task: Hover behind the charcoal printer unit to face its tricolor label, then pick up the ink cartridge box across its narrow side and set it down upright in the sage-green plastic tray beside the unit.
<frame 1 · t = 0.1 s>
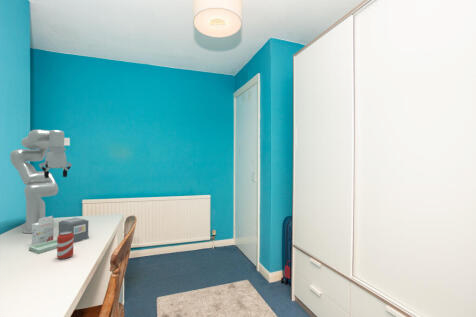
hand: (56, 177, 141), 37 cm above the table, tool pointing down, fingers open, 9 cm apart
beverage can: (65, 257, 111), on the table
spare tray: (49, 247, 123), on the table
printer unit: (73, 239, 136), on the table
ink cartridge box: (42, 242, 130), on the table
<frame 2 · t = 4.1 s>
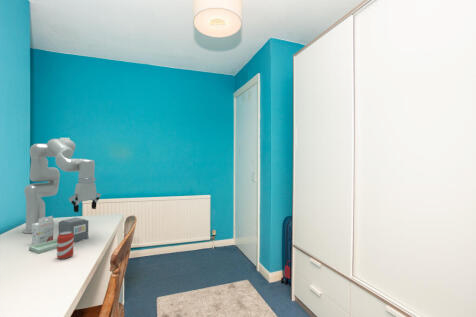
hand: (85, 210, 131), 19 cm above the table, tool pointing down, fingers open, 9 cm apart
nothing on the table moved.
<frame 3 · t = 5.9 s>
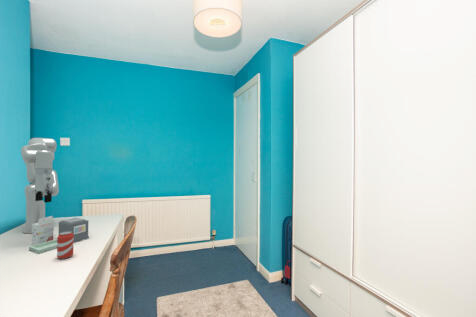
hand: (43, 201, 130), 24 cm above the table, tool pointing down, fingers open, 9 cm apart
nothing on the table moved.
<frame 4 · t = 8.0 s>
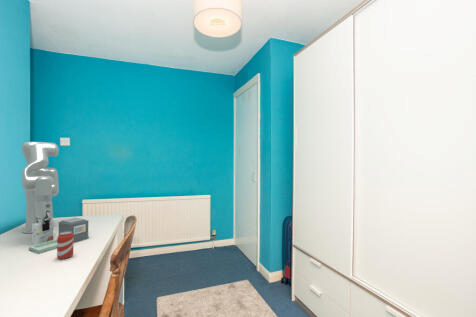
hand: (42, 229, 130), 8 cm above the table, tool pointing down, fingers closed on ink cartridge box, 5 cm apart
ink cartridge box: (42, 242, 130), on the table, touching gripper
everything else where it was.
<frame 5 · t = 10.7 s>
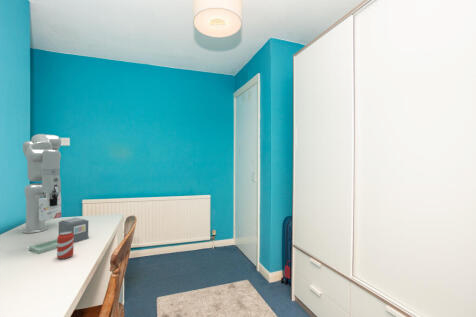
hand: (50, 204, 123), 23 cm above the table, tool pointing down, fingers closed on ink cartridge box, 5 cm apart
ink cartridge box: (50, 219, 123), point 15 cm above the table, touching gripper
everything else where it was.
when the fingers open (9 cm above the table, at t = 13.6 s): ink cartridge box drops 1 cm, resting on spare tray.
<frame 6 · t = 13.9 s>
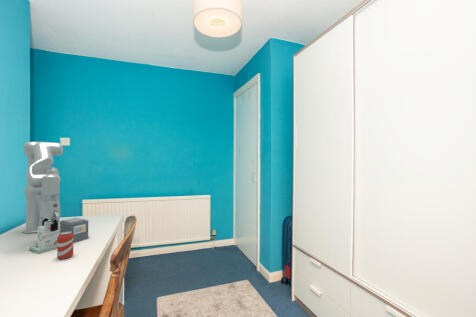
hand: (49, 229, 123), 10 cm above the table, tool pointing down, fingers open, 8 cm apart
ink cartridge box: (49, 246, 124), resting on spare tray
everything else where it was.
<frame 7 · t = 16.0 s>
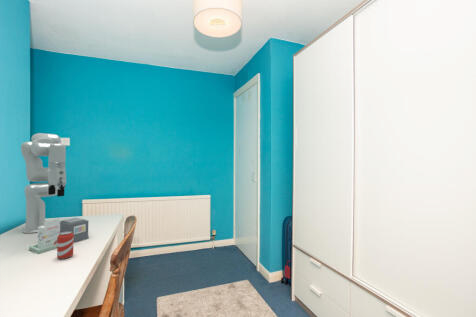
hand: (56, 195, 129), 28 cm above the table, tool pointing down, fingers open, 9 cm apart
nothing on the table moved.
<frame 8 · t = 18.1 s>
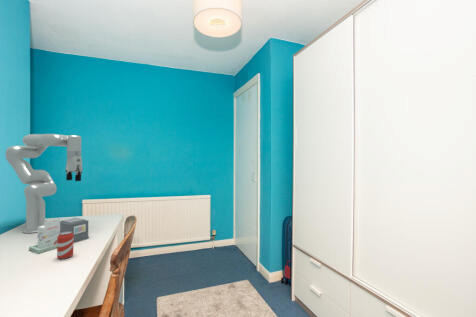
hand: (73, 180, 147), 34 cm above the table, tool pointing down, fingers open, 9 cm apart
nothing on the table moved.
at the end: ink cartridge box inside the target area on the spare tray (0.7 cm from its centre), point 0.2 cm above the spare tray's base; ink cartridge box tilted 0°; the gripper is holding nothing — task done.
